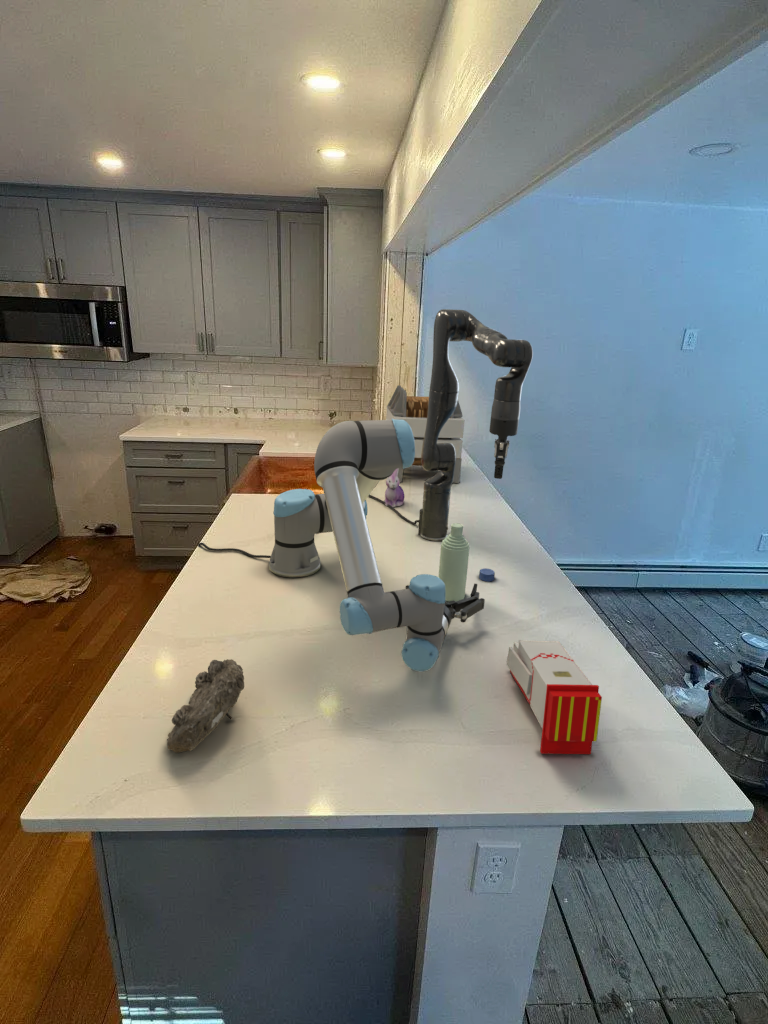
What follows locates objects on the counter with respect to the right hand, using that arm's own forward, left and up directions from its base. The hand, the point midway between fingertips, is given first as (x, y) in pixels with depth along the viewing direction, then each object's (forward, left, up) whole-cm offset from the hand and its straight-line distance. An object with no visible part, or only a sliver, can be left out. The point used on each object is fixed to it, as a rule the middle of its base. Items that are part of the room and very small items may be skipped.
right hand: (498, 474), depth 159 cm
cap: (0, 0, -30) cm, 30 cm away
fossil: (-14, -89, -32) cm, 96 cm away
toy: (+35, -46, -32) cm, 66 cm away
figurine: (-59, +37, -32) cm, 77 cm away
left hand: (-1, -22, -26) cm, 34 cm away
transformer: (-76, +84, -32) cm, 118 cm away
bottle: (-3, -16, -32) cm, 36 cm away
